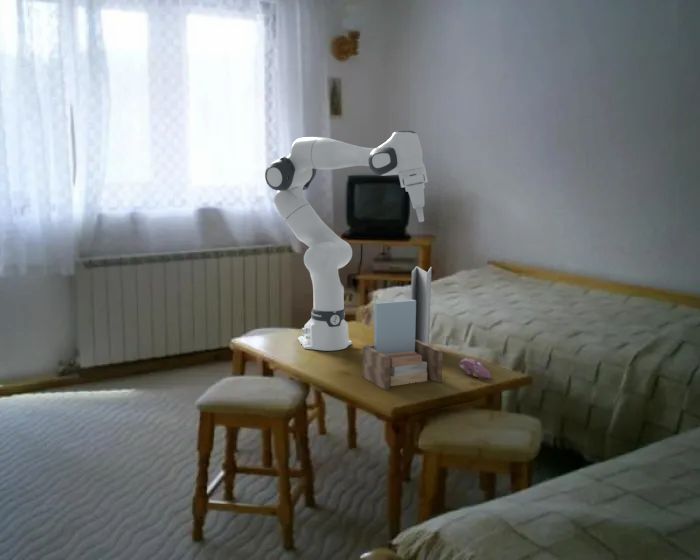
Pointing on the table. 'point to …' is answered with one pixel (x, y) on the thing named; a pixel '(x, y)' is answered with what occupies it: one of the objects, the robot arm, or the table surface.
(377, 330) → the sheet
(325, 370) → the table surface
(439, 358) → the rack
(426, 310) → the brochure
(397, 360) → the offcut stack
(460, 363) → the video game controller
